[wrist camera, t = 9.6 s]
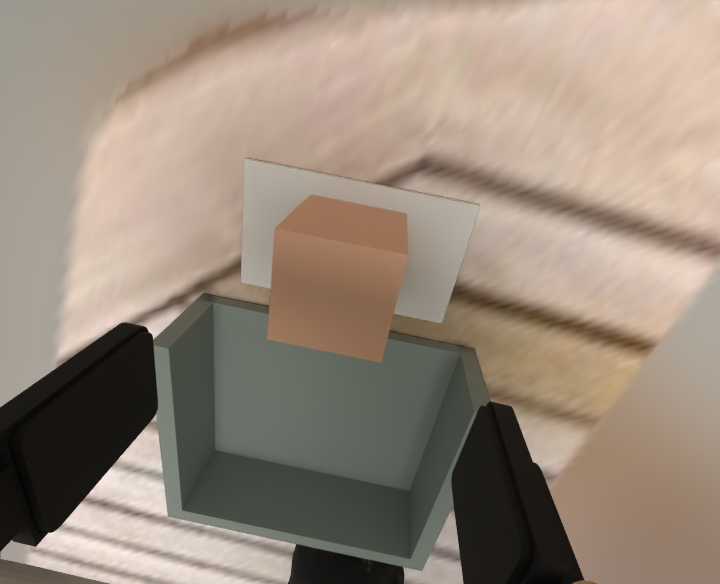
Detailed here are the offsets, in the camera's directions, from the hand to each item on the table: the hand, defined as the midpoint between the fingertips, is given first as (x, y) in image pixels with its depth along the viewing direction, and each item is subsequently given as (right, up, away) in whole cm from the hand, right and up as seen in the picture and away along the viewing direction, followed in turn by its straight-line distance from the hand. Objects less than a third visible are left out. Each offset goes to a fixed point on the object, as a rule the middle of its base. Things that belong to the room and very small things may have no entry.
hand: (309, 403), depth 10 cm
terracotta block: (+1, +5, +10) cm, 11 cm away
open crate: (-1, -5, +15) cm, 16 cm away
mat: (+1, +6, +10) cm, 11 cm away
